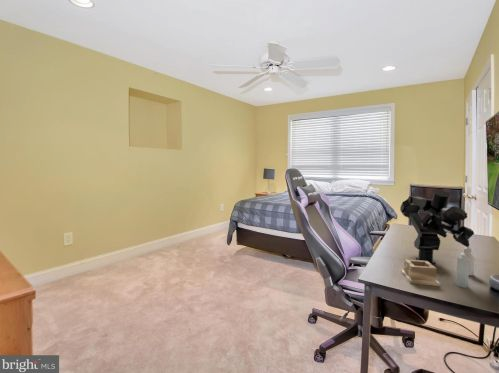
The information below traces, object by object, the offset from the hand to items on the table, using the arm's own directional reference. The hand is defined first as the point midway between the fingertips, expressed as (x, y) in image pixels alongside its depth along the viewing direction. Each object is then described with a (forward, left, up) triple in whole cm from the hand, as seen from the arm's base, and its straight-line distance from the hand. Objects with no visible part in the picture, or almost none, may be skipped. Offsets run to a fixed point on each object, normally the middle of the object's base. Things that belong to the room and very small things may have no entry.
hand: (456, 241), depth 102 cm
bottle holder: (-4, -11, -17) cm, 20 cm away
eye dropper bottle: (-14, +10, -17) cm, 24 cm away
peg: (0, +2, -17) cm, 17 cm away
